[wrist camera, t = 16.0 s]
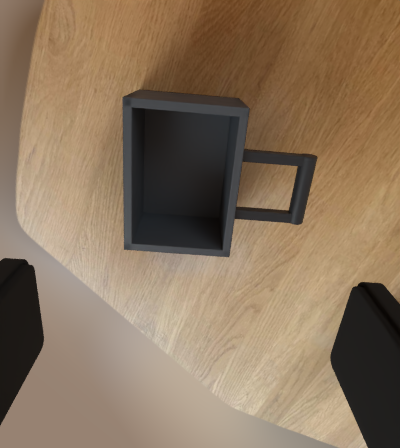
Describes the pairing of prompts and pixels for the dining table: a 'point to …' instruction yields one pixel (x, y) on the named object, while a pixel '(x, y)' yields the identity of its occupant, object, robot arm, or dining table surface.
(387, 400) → the robot arm
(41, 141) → the dining table surface
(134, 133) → the grey tool caddy
